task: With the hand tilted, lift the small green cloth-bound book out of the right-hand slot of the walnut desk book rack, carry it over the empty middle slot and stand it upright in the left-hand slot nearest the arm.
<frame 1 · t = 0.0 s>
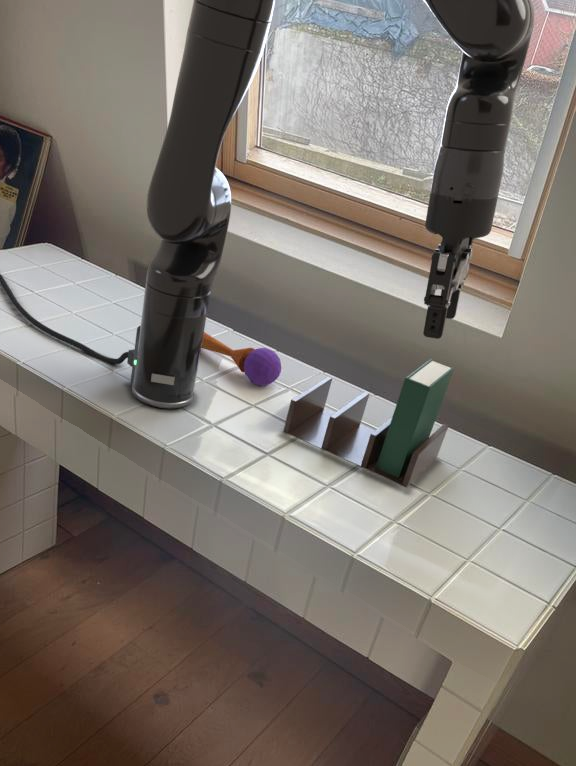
hand: (439, 326, 103), 22 cm above the table, tool pointing down, fingers open, 8 cm apart
kendama: (228, 367, 138), on the table
rack: (359, 448, 121), on the table
book: (399, 461, 118), point 1 cm above the table, touching rack
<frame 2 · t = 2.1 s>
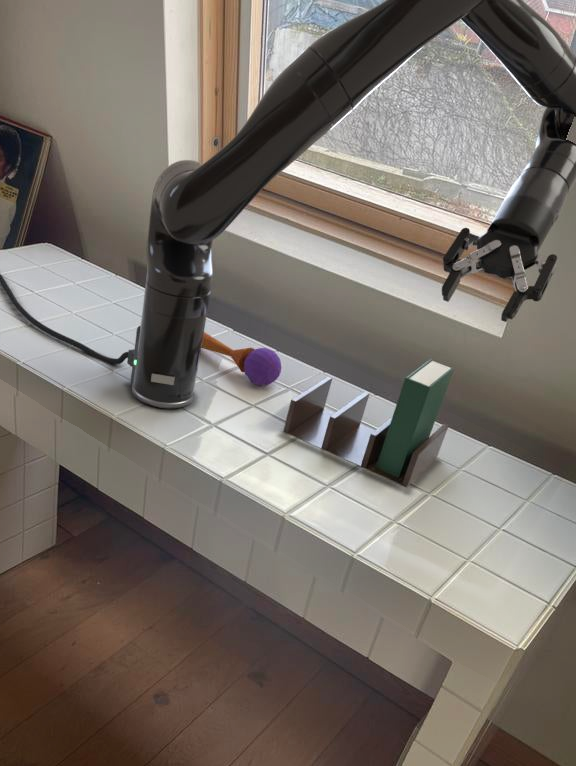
hand: (474, 308, 113), 22 cm above the table, tool tilted 45°, fingers open, 8 cm apart
nothing on the table moved.
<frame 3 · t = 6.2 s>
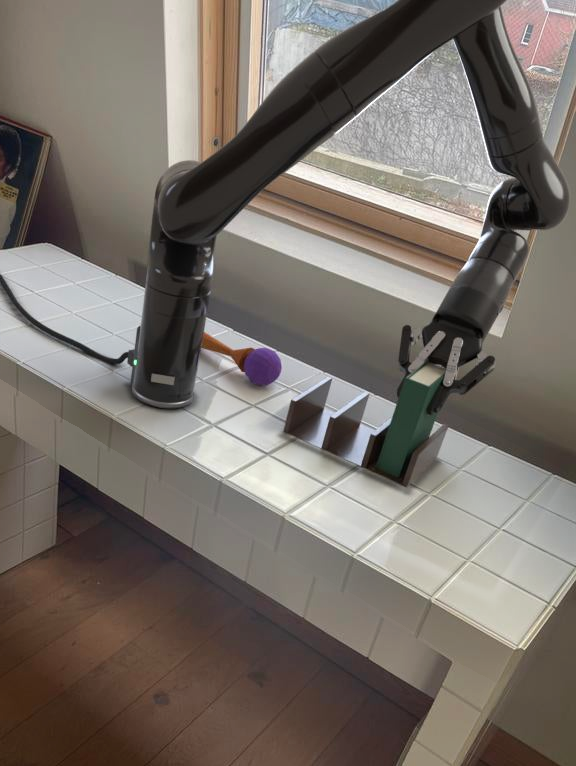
hand: (415, 406, 111), 10 cm above the table, tool tilted 45°, fingers closed on book, 3 cm apart
book: (399, 461, 118), point 1 cm above the table, touching gripper, rack
everything else where it was.
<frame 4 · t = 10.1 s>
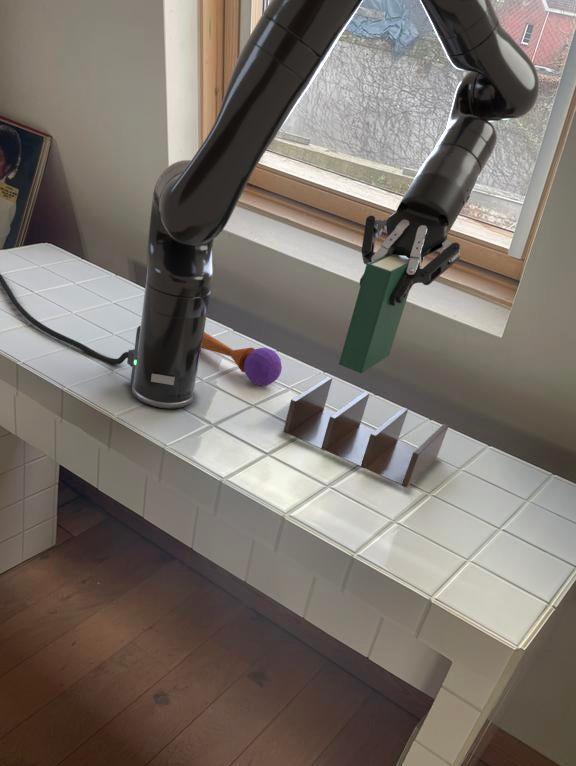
hand: (378, 296, 108), 23 cm above the table, tool tilted 45°, fingers closed on book, 3 cm apart
book: (364, 359, 115), point 13 cm above the table, touching gripper
everything else where it was.
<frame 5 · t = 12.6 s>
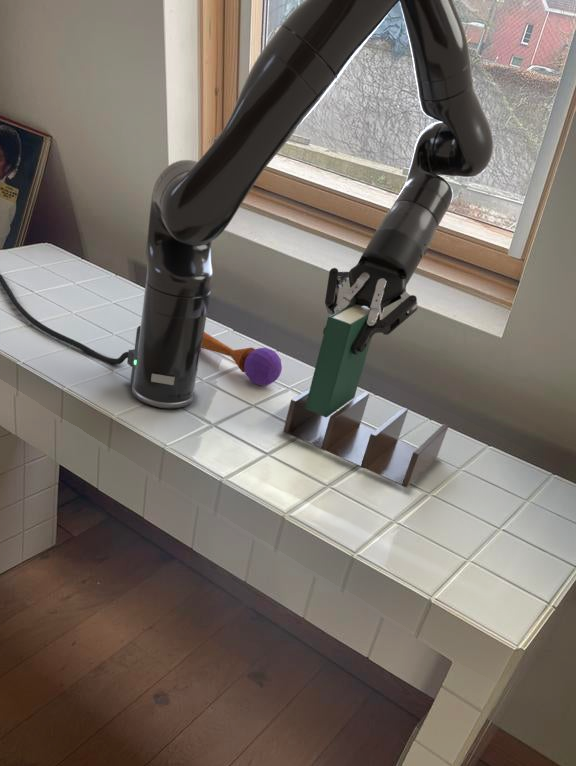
hand: (340, 345, 114), 14 cm above the table, tool tilted 45°, fingers closed on book, 3 cm apart
book: (330, 402, 121), point 5 cm above the table, touching gripper
everything else where it was.
when the fingers open (10 cm above the table, at t = 14.1 s): book stays where it is, resting on rack.
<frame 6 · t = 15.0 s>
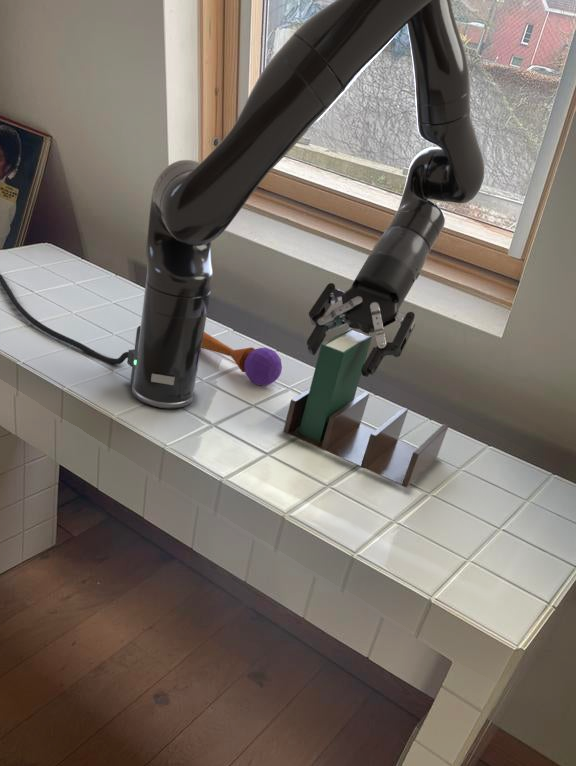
hand: (337, 362, 116), 12 cm above the table, tool tilted 45°, fingers open, 8 cm apart
book: (323, 427, 123), point 1 cm above the table, touching rack
everything else where it was.
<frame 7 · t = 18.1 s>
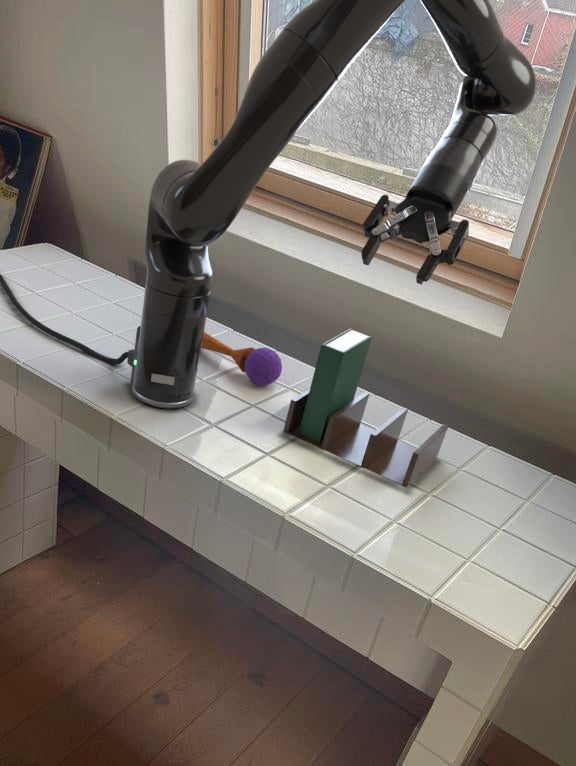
hand: (391, 271, 118), 23 cm above the table, tool tilted 45°, fingers open, 8 cm apart
nothing on the table moved.
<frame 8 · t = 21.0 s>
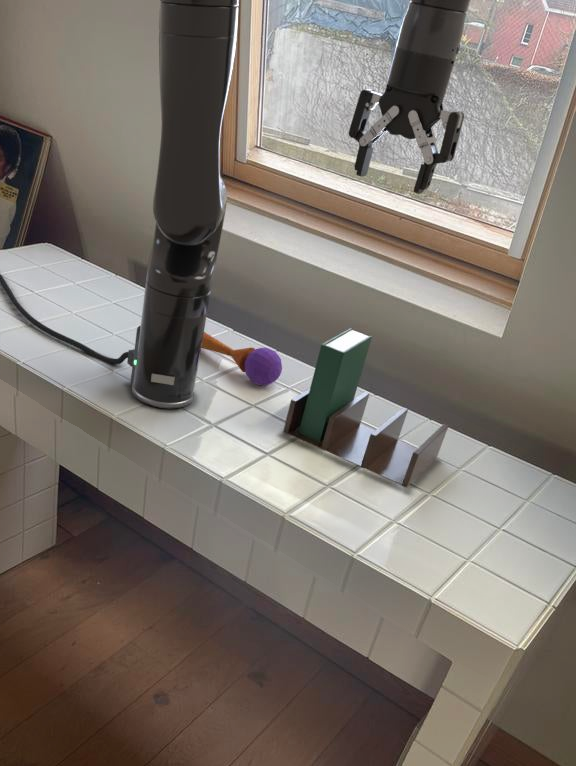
hand: (389, 184, 112), 34 cm above the table, tool pointing down, fingers open, 8 cm apart
nothing on the table moved.
at the end: book 0.2 cm from the target spot on the rack, point 0.8 cm above the rack's base; book tilted 0°; the gripper is holding nothing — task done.
